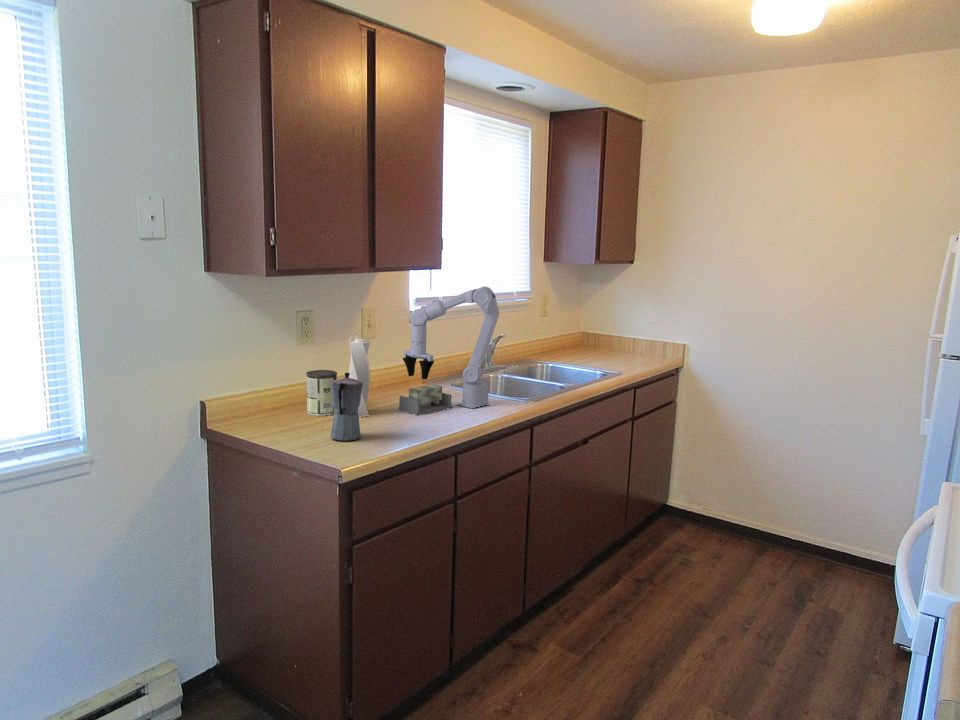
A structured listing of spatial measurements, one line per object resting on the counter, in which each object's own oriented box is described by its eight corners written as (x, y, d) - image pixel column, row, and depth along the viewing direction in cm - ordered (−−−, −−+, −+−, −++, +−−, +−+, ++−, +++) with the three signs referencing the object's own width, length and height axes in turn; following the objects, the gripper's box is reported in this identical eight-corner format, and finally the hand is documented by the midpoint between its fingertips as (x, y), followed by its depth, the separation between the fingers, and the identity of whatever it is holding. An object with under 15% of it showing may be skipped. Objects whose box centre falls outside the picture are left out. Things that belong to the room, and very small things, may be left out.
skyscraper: (343, 413, 231) (343, 333, 227) (365, 411, 235) (366, 332, 230) (350, 419, 224) (350, 336, 219) (373, 417, 228) (374, 336, 223)
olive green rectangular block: (433, 397, 245) (433, 384, 244) (441, 399, 242) (442, 386, 241) (408, 402, 237) (408, 388, 236) (417, 404, 234) (417, 390, 233)
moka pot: (365, 431, 209) (365, 369, 205) (358, 446, 194) (358, 378, 190) (334, 431, 208) (334, 368, 205) (325, 445, 193) (324, 378, 190)
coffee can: (321, 407, 237) (321, 368, 235) (343, 411, 232) (343, 372, 230) (300, 413, 229) (299, 372, 226) (322, 417, 224) (322, 376, 221)
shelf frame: (433, 403, 250) (433, 390, 249) (452, 408, 243) (452, 394, 242) (398, 410, 237) (398, 396, 236) (416, 415, 231) (417, 401, 230)
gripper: (397, 339, 249) (397, 375, 251) (423, 344, 239) (422, 381, 241) (411, 338, 254) (411, 373, 256) (438, 343, 244) (437, 379, 246)
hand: (417, 377), depth 249 cm, fingers open, 7 cm apart
